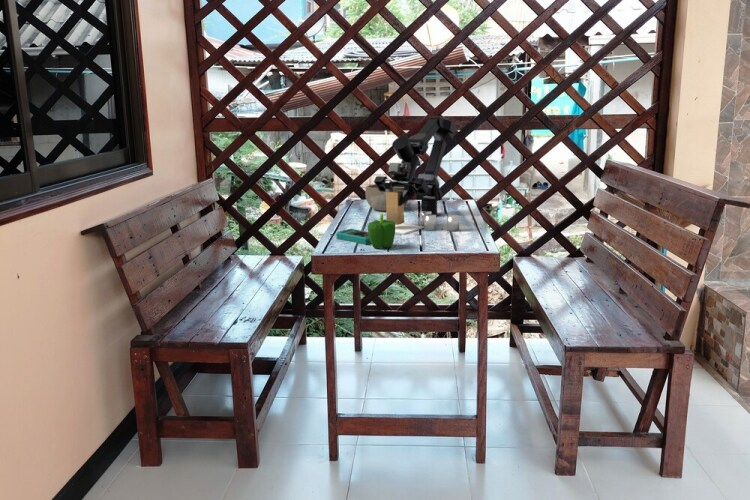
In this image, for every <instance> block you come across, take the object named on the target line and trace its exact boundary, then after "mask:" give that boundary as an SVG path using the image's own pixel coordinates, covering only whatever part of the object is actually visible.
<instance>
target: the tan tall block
mask: <svg viewBox="0 0 750 500" xmlns="http://www.w3.org/2000/svg"><path fill="white" fill-rule="evenodd" d="M402 193H403V191H400V190H391V191H387V192H386V211H385V212H386V220H387V221H394V223H395V225H399V224H405V206H404V204H402V205H401V206H399V201H400V198H401V196H402Z"/></svg>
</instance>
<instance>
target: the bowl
mask: <svg viewBox="0 0 750 500" xmlns="http://www.w3.org/2000/svg"><path fill="white" fill-rule="evenodd" d="M364 190H365V193H364V194H365V200H366V203H367V204H368V206H370V208H371V209H373V210H375V211H378V212H386V192H381V191H379V189H378V188H377V186H376V185H375V184H370V185H366V187H365V189H364ZM393 190H400V191H404V188H397V187H394V188H393ZM408 202H409V199H408V200H407V201H406V202H405V203H404V207H405V206H406V205H407V204H408Z"/></svg>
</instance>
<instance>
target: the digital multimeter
mask: <svg viewBox="0 0 750 500" xmlns="http://www.w3.org/2000/svg"><path fill="white" fill-rule="evenodd" d="M335 237H336V239H337V240H340V241H346V242H352V243H356V244H360V245H364V246H368V245H372V244H371V242H370V239H369V235H368V231H365V230H360V229H355V228H348V229H343V230H339V231H337V232H336V233H335Z"/></svg>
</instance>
